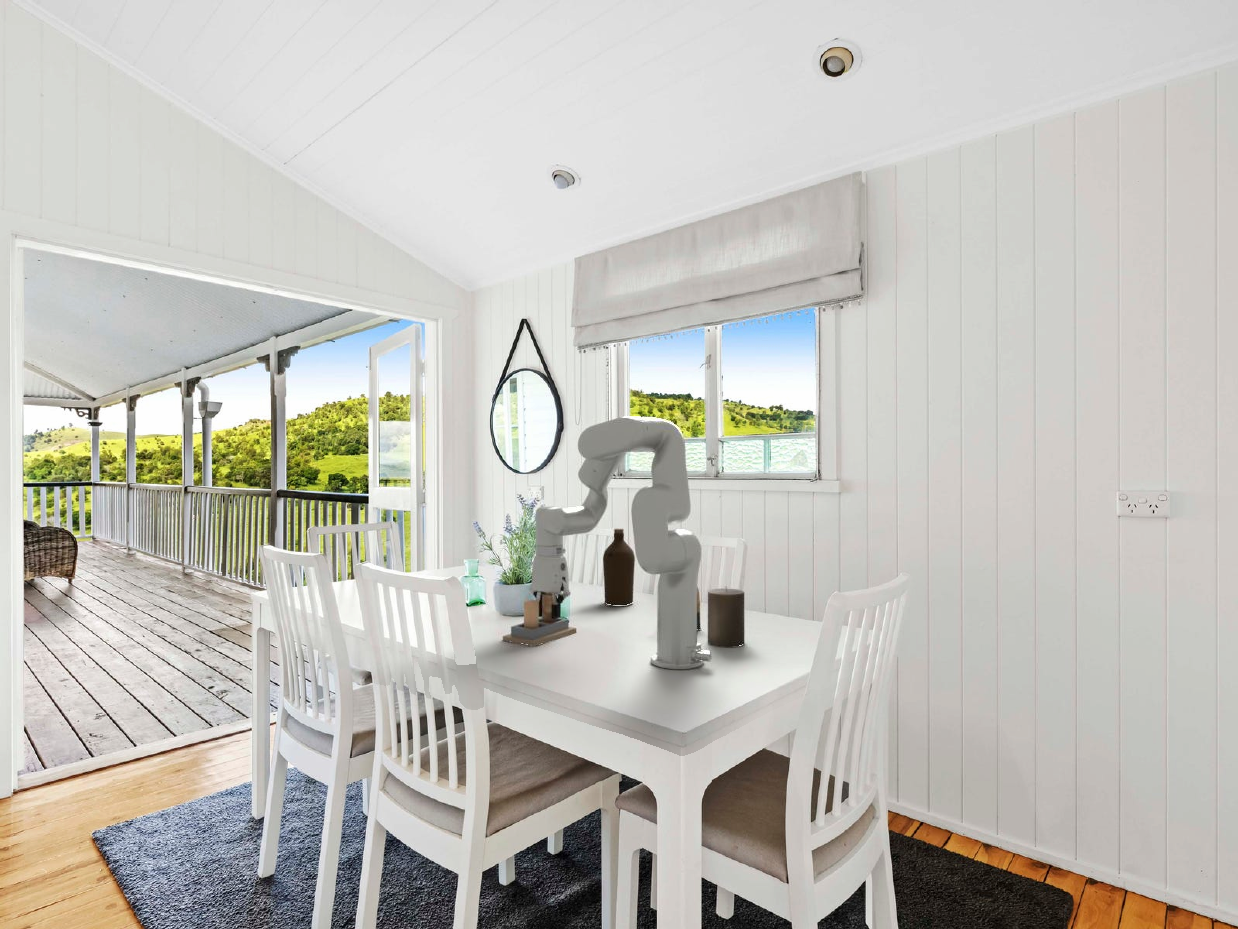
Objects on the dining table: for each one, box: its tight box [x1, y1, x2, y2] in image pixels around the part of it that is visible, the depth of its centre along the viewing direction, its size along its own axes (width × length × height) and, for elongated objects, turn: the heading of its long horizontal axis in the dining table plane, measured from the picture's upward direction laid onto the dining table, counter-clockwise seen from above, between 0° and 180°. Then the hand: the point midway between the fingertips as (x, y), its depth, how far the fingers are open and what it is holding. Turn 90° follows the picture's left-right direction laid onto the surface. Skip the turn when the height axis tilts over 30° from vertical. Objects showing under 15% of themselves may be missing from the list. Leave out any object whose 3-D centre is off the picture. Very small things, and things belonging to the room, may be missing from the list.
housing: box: [502, 599, 577, 647], centre depth 195 cm, size 11×18×10 cm, turn 146°
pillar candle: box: [707, 586, 746, 648], centre depth 188 cm, size 10×10×15 cm
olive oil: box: [602, 528, 636, 605], centre depth 238 cm, size 11×11×25 cm
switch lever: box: [541, 593, 557, 623], centre depth 198 cm, size 4×4×9 cm
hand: (549, 616), depth 198 cm, fingers closed on switch lever, 4 cm apart
